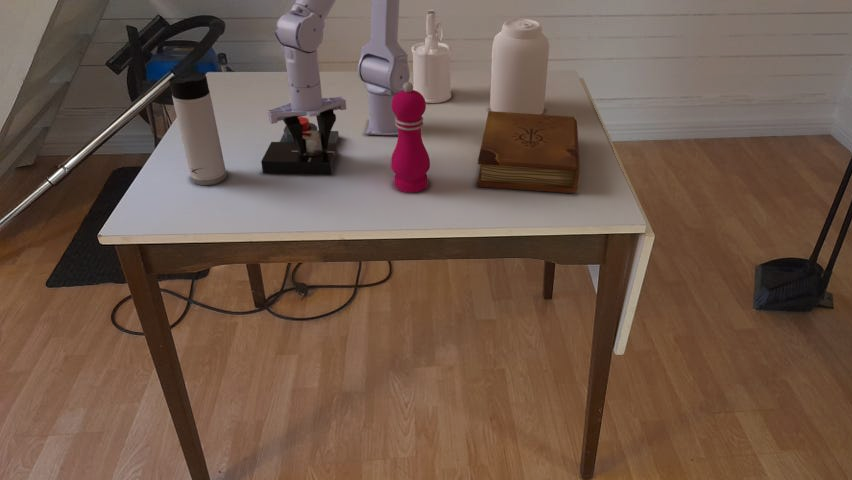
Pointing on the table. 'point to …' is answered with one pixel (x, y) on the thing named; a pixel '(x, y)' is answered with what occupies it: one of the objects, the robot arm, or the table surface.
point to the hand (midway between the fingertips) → (312, 149)
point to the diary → (529, 152)
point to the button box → (289, 138)
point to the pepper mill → (409, 141)
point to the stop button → (304, 123)
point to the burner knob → (312, 143)
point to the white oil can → (432, 64)
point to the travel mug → (198, 128)
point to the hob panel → (298, 160)
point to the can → (519, 68)
